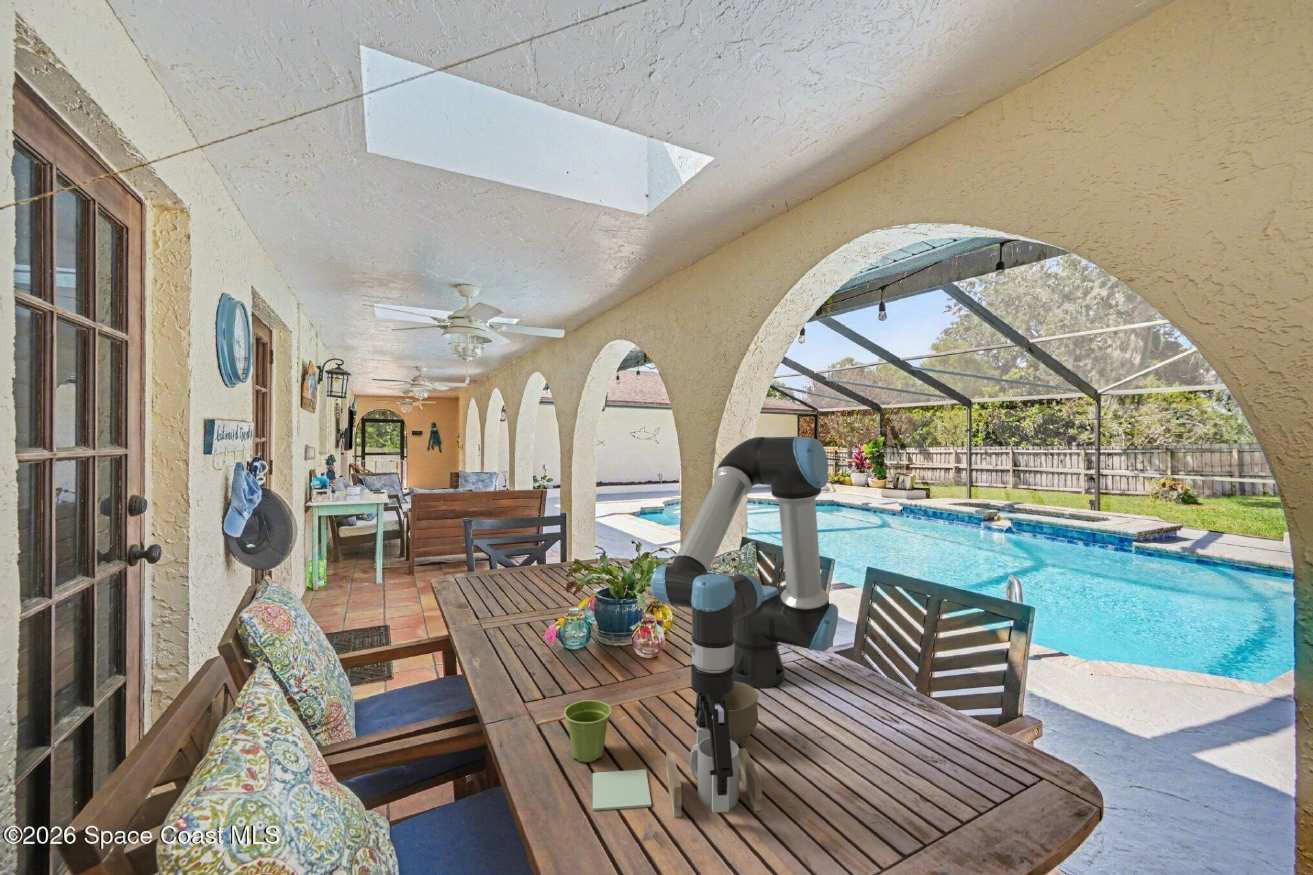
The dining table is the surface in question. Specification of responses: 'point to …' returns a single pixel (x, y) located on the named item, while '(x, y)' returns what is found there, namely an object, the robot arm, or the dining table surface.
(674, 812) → the holder rails
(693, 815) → the dining table surface
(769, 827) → the dining table surface
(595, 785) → the mat
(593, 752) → the plant pot
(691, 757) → the cup
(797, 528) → the robot arm
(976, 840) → the dining table surface
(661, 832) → the dining table surface
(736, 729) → the bowl
